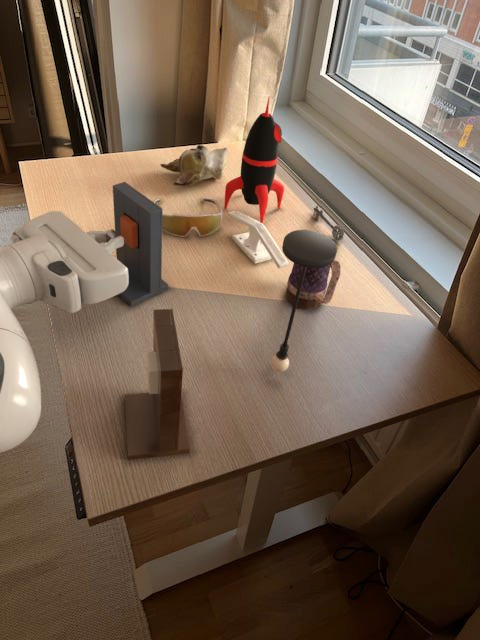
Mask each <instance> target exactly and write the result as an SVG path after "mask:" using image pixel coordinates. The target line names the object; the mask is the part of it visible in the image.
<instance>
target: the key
mask: <svg viewBox="0 0 480 640" xmlns="http://www.w3.org/2000/svg"><path fill="white" fill-rule="evenodd" d="M318 208H319V206H318V205H316V206H315V207H313V209H312V210H313V215H312V216H313V217H314V218H315V219H316V220H317V221H319V220H320V219H321V220H323V222H325V224H327V225H328V226H329V227H330V228H331V229H332V231H331V235H332V238H333V239H334V240H335V241H336V242H339V241H342V240H343V239H344V235H345V231H344V228H343V227H342V226H341V225H340V224H336V225H333V224H332V223H331V222H330V220H328V219H327V218H326V216H325V215H324V214H323V213H324V211H323V210H322V209H320V210H319V209H318Z"/></svg>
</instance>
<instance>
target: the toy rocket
mask: <svg viewBox="0 0 480 640" xmlns="http://www.w3.org/2000/svg"><path fill="white" fill-rule="evenodd" d="M269 107H270V97H268V98H267V103H266V108H265V111H264V112H262V113H260V114H259V115H258V116H257V118H256V119H255V120H254V122H253V123H252V125H251V127H250V129H249V132H248V133H247V136H246V140H245V142H244V146H243V151H242V157H241V164H240V176H238V177H235V178H233V179H231V180H229V181H228V182H227V183H226V185H225V188H224V189H225V190H224V205H223V210H227V208H228V207H229V206H228V205H229V202H230V200H231V198H232V195H233V194H234V193H235V192H236V191H238V190H241V194H242V195H243V199H244V201H245V203H246V204H248V205H252V206H258V211H259V222H260V223H262V224H263V223H264V220H265V215H266V211H267V208H268V203H269V194H270V191H271V192H272V191H273V192H274V193H275V195H276V202H277V209H278V210H280V209H281V206H282V201H283V197H284V193H285V185H284V184H283V183H282V182H280V181H278V180H277V179H275V176H276V170H277V165H278V158H279V144H281V143H282V138H283V137H282V135H283V131H282V128H281V126H280V124H278V123H277V121H275V119H274V117H273V114H271V113H269Z"/></svg>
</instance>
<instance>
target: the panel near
mask: <svg viewBox="0 0 480 640" xmlns="http://www.w3.org/2000/svg"><path fill="white" fill-rule="evenodd" d="M152 312H153V318H152V319H153V322H152V323H153V329H152V338H153V339H152V343H153V344H152V347H153V348H152V349H153V350H152V352H153V351H156V356H157V365H158V394H149V392H141V393H128V394H124V409H125V411H124V412H125V427H126V428H125V429H126V446H127V460H129V461H130V460H131V461H132V460H138V459H148V458H158V457H166V456H174V455H175V456H176V455H183V454H190V453H191V452H190V451H191V447H190V441H189V433H188V429H187V421H186V414H185V408H184V401H183V396H182V391H183V390H182V389H183V376H184V373H183V372H184V368H183V362H182V355H181V350H180V349H181V348H180V344H179V337H178V331H177V324H176V319H175V311H174V308H161V309H159V308H158V309H153V310H152Z"/></svg>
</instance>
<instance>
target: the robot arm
mask: <svg viewBox="0 0 480 640" xmlns="http://www.w3.org/2000/svg"><path fill="white" fill-rule="evenodd" d="M10 239H11V241H12V243H9V244H6V245H4V246H2V247H0V454H2V453H5V452H7V451H10V450H12V449H15V448H17V447H18V446H19V445H21V444H22V443H24V442H25V441H26V440H27V439H28V438H29V437H30V436H31V435H32V433H33V432H34V431H35V429H36V427H37V426H38V424H39V422H40V419H41V414H42V386H41V378H40V373H39V369H38V364H37V360H36V357H35V354H34V351H33V348H32V346H31V344H30V340H29V339H28V337H27V335H26V333H25V331H24V329H23V327H22V325H21V324H20V322H19V321H18V318H17V317H16V315H15V314H14V312H13V311H12V310H13V309H14V308H16V307H18V306H22V305H30V304H34V303H36V302H39V301H40V302H42V303H45V304H48V305H50V306H54V307H56V308H58V309H59V310H62V311H64V312H66V313H68V314H74V313H77V312H79V311H81V309H82V304H83V305H94V304H98V303H101V302H103V301H106V300H109V299H111V298H113V297H115V296H119V295H118V294H120V293H122V292H123V291H125V290H126V288H127V286H128V284H129V275H128V269H127V267H126V266H125V265H123V264H122V263H121V262H120V261H119V260H117V257H116V256H114V255H113V254H114V252H116V249H117V248H119V247H122V246H123V245H124V238H123V237H122V236H121V235H119V234H118V233H117V232H116V231H115V229H113V228H110V229H107V230H90V231H87V232H86V231H85V230H84V229H83V228H81V226H79V225H78V224H77V223H76V222H74V221H73V220H72V219H71V218H70V217H68V216H67V215H66V214H65V213H64V212H62V211H59V210H52V211H49V212H46V213H43V214H40V215H39V216H36V217H34V218H32V219H30V220H27V221H26V222H25V223H24V224H22V226H21V227H17V228H15V229H14V230H13V232H12V233H11V236H10Z"/></svg>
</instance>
